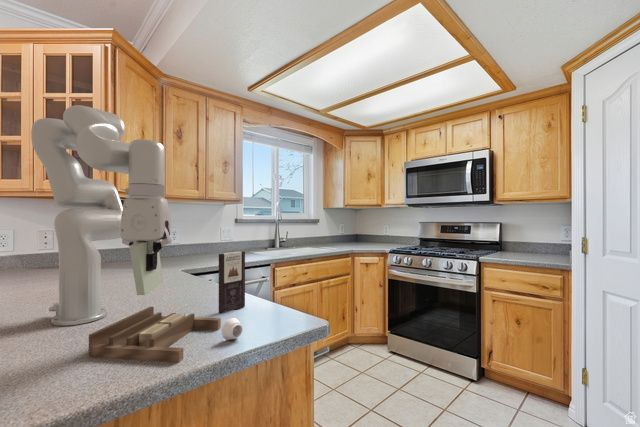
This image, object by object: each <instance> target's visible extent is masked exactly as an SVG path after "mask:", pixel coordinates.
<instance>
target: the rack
mask: <svg viewBox="0 0 640 427" xmlns="http://www.w3.org/2000/svg"><path fill="white" fill-rule="evenodd" d="M162 313H163V312H156V313H155V311H154V306H148V307H146V308H143V309H142V310H140V311H138V312H135V313H133V314H131V315H129V316H127V317H124V318H122V319H120V320H118V321H116V322H114V323H111V324H109V325H107V326H105V327H103V328H100V329H98V330H96V331H94V332H92V333H89V334H88V358H96V359H98V358H99V359H115V360H128V361H129V360H130V361H131V360H132V361H146V362H147V361H149V362H163V363H164V362H166V363H167V362H168V363H181V362H182V361H183V360H184V347H171V346H172V345H174V344H175V343H177V342H178V341H180V340H181V339H183V338H184V337H185V336H187V335H188V334H189V333H191V332H192V331H194V330H209V331H210V330H211V331H212V330H213V331H218V330H220V329H221V328H222V327H221V322H222V319H221V318H220V317H219V318H218V317H216V318H215V317H196V316H195V313H189V314H188V315H187V316H186V315H185V318H183V319H181V320H180V321H178V322H177V323H175V324H173V325H172V326H170V327H168V328H167V329H165V330H164V331H162V332H160V333H159V334H157V335H155V336H154V337H152V338H151V339H149V346H139V333H141V332H143V331H145V330H146V329H148V328H150V327H152V326H154V325H155V324H160V322H161V321H162V320H164V319H166V318H168V317H170V316H171V315H173V314H177V313H176V312H171V313H170V314H167V315H166V316H165V315H164V316H163V315H162Z"/></svg>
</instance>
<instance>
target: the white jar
mask: <svg viewBox="0 0 640 427" xmlns="http://www.w3.org/2000/svg"><path fill="white" fill-rule="evenodd" d="M221 328H222V329H221V335H222V338H224V340H226V341H231V340H235V339H238V338H239V337H240V336H241V335H242V333H243V325H241V322H240V320H239V319H237V318H235V317H231V318H229V319H227V320H226V321H225V322H224V324H223V326H222V327H221Z"/></svg>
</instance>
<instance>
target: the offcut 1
mask: <svg viewBox="0 0 640 427" xmlns="http://www.w3.org/2000/svg"><path fill="white" fill-rule="evenodd" d="M168 327H169V324H155V325H154V326H152V327H150V328H148V329H146V330H145V331H143V332H141V333H139V346H149V339H151V338H152V337H154V336H155V335H157V334H159V333H160V332H162V331H164V330H165V329H167V328H168Z"/></svg>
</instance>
